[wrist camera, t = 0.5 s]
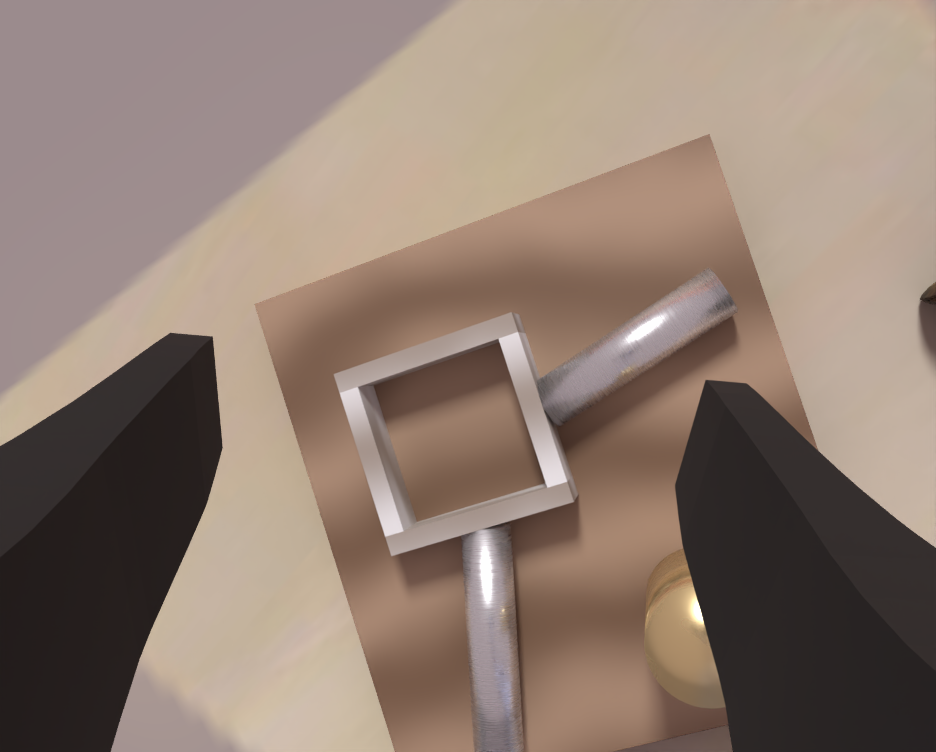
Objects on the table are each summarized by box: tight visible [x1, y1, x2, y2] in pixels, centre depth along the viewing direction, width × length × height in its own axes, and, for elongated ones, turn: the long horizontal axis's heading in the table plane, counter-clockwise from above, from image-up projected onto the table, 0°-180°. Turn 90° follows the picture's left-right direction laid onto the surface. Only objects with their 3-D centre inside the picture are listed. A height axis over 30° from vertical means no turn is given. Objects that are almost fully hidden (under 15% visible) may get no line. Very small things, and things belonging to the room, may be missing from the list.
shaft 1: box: [461, 522, 524, 752], centre depth 35 cm, size 9×2×2 cm, turn 3°
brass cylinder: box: [644, 549, 725, 709], centre depth 31 cm, size 4×4×6 cm
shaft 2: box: [537, 268, 738, 427], centre depth 34 cm, size 8×2×2 cm, turn 123°
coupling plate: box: [255, 134, 818, 752], centre depth 35 cm, size 22×20×4 cm
